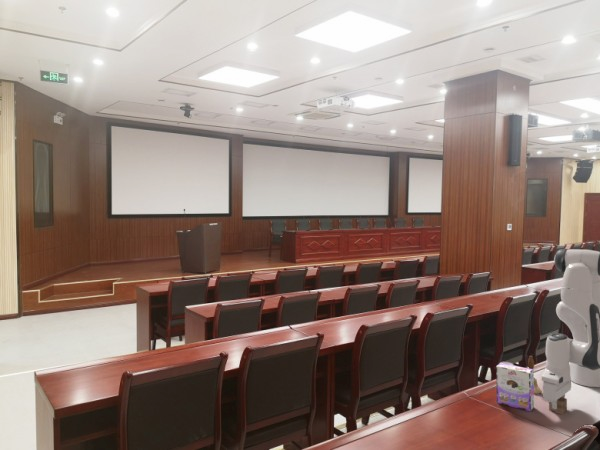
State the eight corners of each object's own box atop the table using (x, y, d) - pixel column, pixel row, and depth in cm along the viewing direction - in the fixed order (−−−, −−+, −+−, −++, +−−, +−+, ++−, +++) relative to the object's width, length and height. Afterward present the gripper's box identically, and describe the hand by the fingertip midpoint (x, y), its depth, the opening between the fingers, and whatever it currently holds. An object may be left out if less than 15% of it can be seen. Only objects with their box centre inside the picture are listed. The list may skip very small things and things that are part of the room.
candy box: (534, 407, 184) (534, 369, 183) (530, 412, 179) (530, 373, 179) (500, 398, 193) (500, 361, 192) (496, 402, 189) (495, 365, 188)
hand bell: (545, 393, 197) (544, 358, 196) (526, 393, 197) (526, 359, 196) (535, 386, 205) (535, 352, 205) (517, 386, 205) (517, 353, 205)
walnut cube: (553, 406, 184) (553, 394, 184) (566, 410, 180) (566, 398, 180) (549, 410, 181) (549, 398, 181) (562, 414, 177) (562, 402, 177)
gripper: (559, 365, 189) (559, 396, 189) (539, 377, 176) (539, 411, 176) (575, 369, 184) (575, 401, 184) (556, 382, 171) (556, 416, 171)
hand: (558, 406), depth 180 cm, fingers closed on walnut cube, 5 cm apart
